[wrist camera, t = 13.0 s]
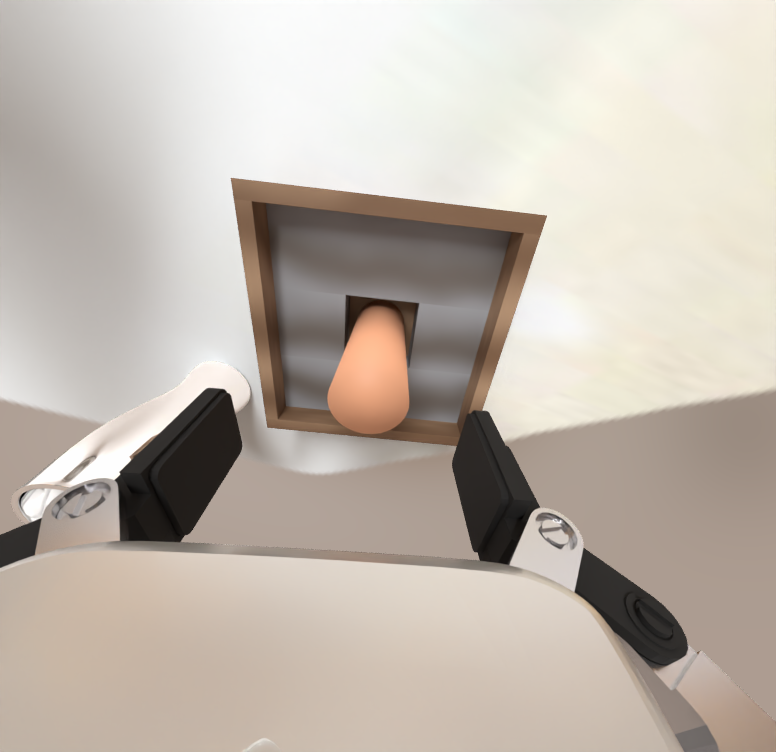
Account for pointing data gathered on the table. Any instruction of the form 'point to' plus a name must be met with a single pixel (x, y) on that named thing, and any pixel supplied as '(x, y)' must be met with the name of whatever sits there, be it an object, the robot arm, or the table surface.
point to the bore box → (379, 297)
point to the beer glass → (124, 438)
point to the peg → (372, 372)
